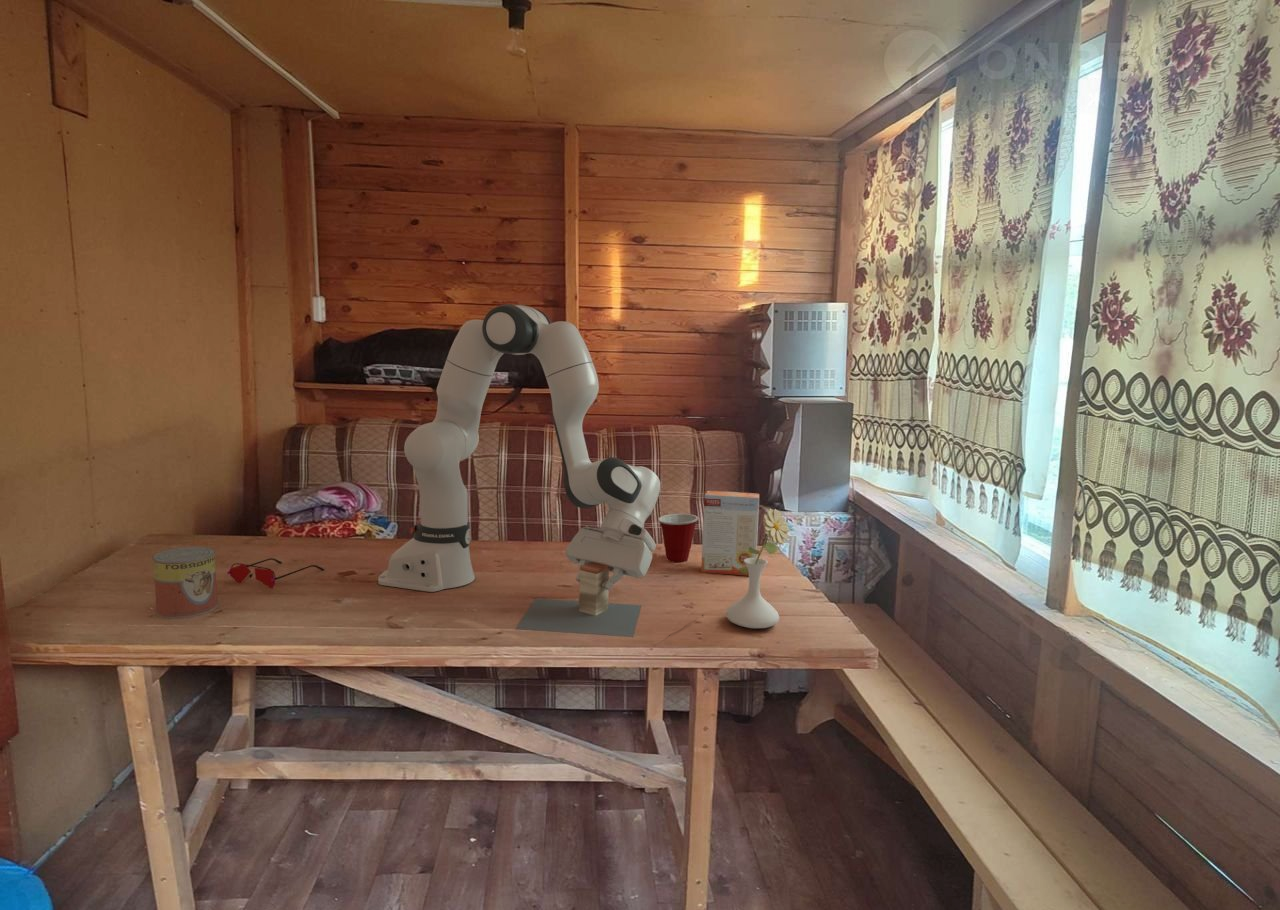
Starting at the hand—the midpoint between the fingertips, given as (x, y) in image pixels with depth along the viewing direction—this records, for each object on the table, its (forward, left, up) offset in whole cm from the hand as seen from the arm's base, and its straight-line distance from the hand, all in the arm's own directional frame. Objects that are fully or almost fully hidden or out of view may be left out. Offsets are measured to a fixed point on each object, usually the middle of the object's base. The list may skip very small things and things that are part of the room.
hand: (592, 585), depth 163 cm
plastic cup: (+16, +45, -7) cm, 48 cm away
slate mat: (-2, -3, -7) cm, 8 cm away
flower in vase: (+35, +2, -7) cm, 36 cm away
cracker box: (+30, +37, -7) cm, 48 cm away
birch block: (0, +1, -6) cm, 6 cm away
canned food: (-85, -11, -7) cm, 86 cm away
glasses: (-79, +12, -7) cm, 80 cm away
